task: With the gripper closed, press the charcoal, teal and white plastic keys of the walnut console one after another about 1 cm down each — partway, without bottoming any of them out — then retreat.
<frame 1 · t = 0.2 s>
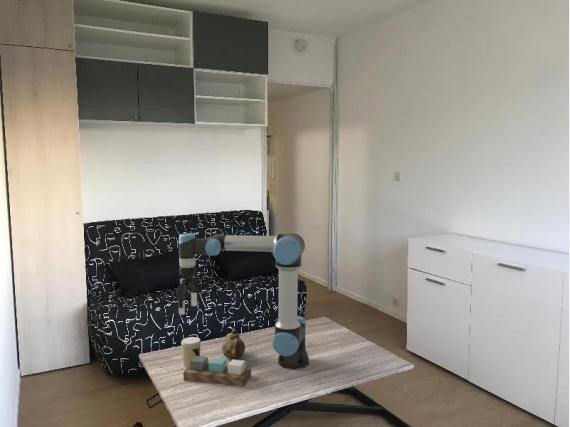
hand: (188, 309, 225), 27 cm above the table, fingers open, 13 cm apart
carved stone sculpture: (234, 359, 235), on the table
white key: (236, 368, 211), point 5 cm above the table, slide at 0.0 cm
walnut console: (217, 377, 214), on the table
coffee cup: (191, 364, 228), on the table
teal key: (217, 366, 213), point 5 cm above the table, slide at 0.0 cm
charcoal key: (199, 364, 215), point 5 cm above the table, slide at 0.0 cm
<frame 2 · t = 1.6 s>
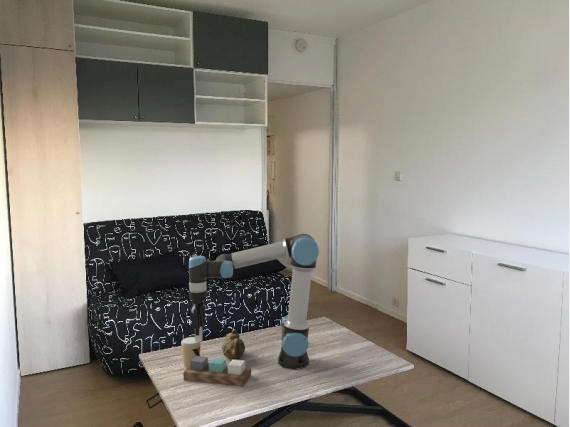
hand: (198, 341, 214), 16 cm above the table, fingers closed
nothing on the table moved.
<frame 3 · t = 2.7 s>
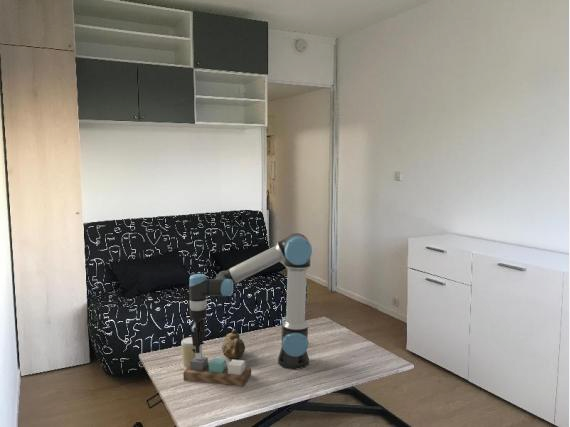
hand: (198, 358, 215), 8 cm above the table, fingers closed
charcoal key: (199, 364, 215), point 5 cm above the table, slide at 0.2 cm, touching gripper
everything else where it was.
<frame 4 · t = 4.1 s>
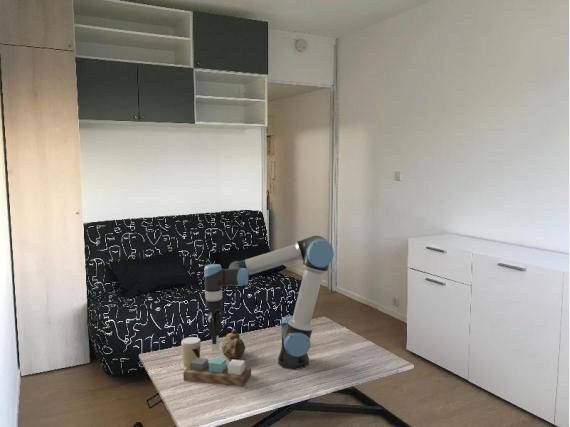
hand: (215, 349, 213), 13 cm above the table, fingers closed
charcoal key: (199, 366, 215), point 5 cm above the table, slide at 0.9 cm
everything else where it was.
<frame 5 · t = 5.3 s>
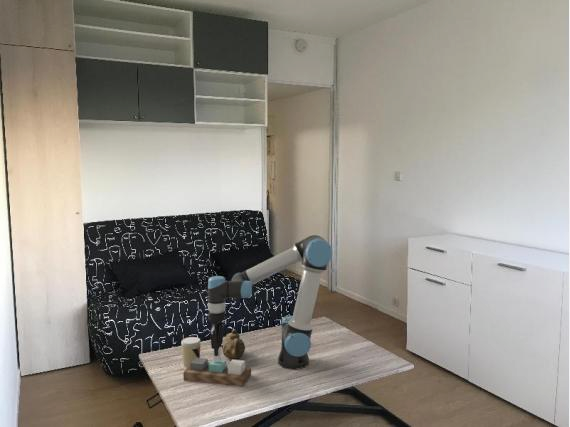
hand: (217, 361, 213), 8 cm above the table, fingers closed
teal key: (217, 367, 213), point 5 cm above the table, slide at 0.7 cm, touching gripper
everything else where it was.
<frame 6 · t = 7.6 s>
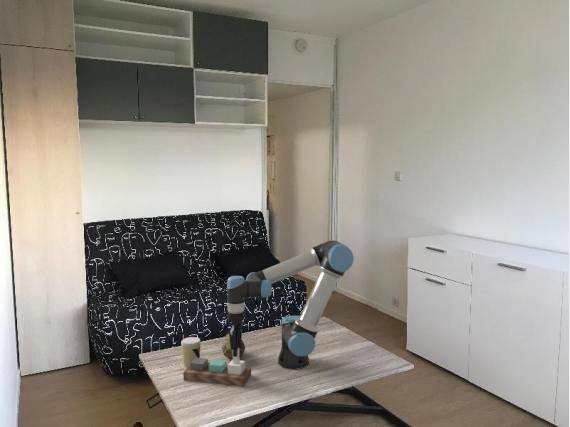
hand: (236, 362, 211), 8 cm above the table, fingers closed
white key: (236, 368, 211), point 5 cm above the table, slide at 0.1 cm, touching gripper
teal key: (217, 368, 213), point 5 cm above the table, slide at 0.9 cm
everything else where it was.
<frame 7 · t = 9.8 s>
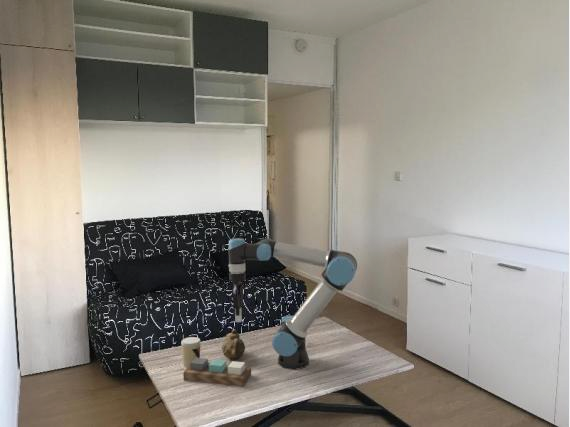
hand: (238, 321, 220), 23 cm above the table, fingers closed
white key: (236, 369, 211), point 5 cm above the table, slide at 0.9 cm
everything else where it was.
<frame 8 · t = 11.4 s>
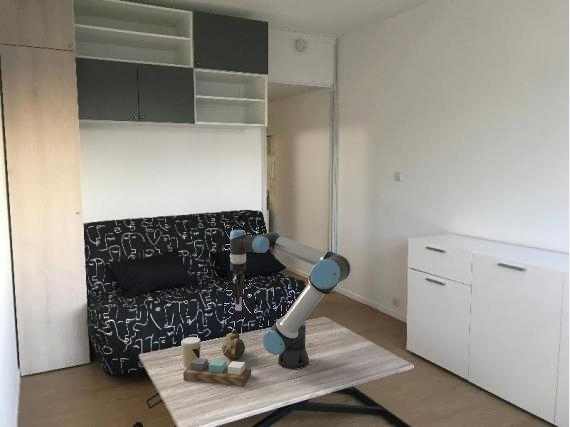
hand: (238, 310, 228), 26 cm above the table, fingers closed
nothing on the table moved.
at the end: charcoal key slide at 0.9 cm; teal key slide at 0.9 cm; white key slide at 0.9 cm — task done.
